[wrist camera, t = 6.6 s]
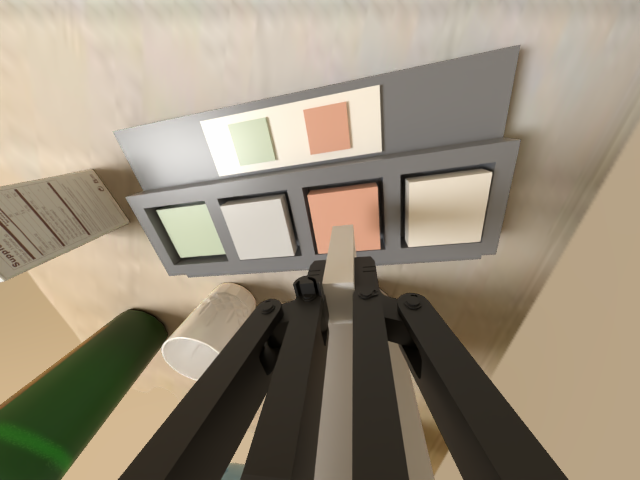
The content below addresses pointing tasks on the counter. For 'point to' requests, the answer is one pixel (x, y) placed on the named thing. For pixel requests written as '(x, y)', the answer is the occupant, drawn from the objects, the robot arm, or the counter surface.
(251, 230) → the key grey
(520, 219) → the counter surface
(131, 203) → the key pad
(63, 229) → the supplement box
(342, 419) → the cylinder vase
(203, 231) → the key sage
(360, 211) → the key terracotta
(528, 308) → the counter surface
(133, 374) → the bottle
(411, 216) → the key white
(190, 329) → the white cup
